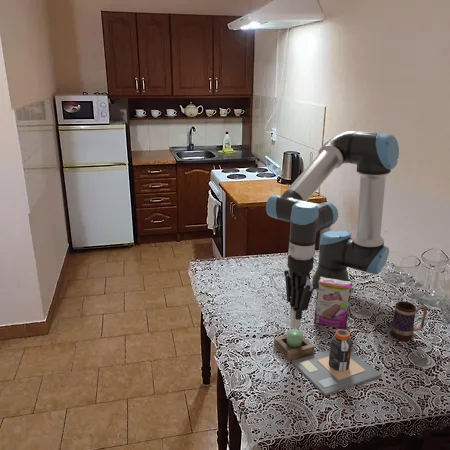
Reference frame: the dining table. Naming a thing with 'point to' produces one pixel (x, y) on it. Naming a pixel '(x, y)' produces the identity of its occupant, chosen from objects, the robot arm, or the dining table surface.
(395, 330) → the mug
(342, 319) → the candy bar box
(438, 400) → the dining table surface
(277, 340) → the button box
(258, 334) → the dining table surface
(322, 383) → the picture board
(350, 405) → the dining table surface
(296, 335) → the button
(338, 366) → the pill bottle
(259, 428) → the dining table surface
